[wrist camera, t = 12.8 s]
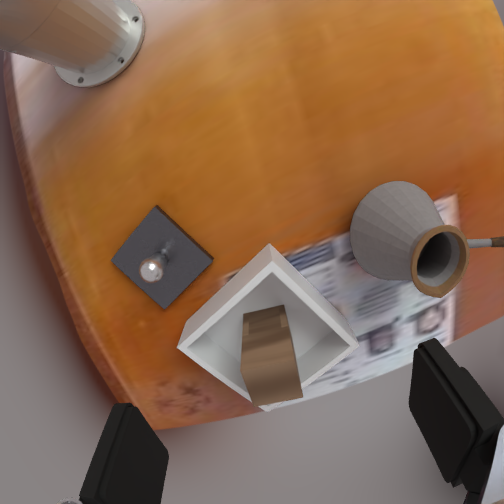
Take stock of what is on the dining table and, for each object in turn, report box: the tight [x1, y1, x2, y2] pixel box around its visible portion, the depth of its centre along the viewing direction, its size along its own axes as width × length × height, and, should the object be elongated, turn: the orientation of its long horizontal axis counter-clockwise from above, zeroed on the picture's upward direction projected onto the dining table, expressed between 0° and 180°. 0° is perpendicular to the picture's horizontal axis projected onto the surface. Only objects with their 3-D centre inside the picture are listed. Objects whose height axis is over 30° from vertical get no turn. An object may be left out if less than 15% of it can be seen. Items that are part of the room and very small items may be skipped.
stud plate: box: [111, 205, 214, 309], centre depth 35 cm, size 9×9×5 cm
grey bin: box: [177, 243, 360, 412], centre depth 37 cm, size 15×15×6 cm
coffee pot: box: [350, 181, 504, 298], centre depth 28 cm, size 21×12×15 cm, turn 101°
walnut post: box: [240, 304, 303, 407], centre depth 33 cm, size 5×5×11 cm
